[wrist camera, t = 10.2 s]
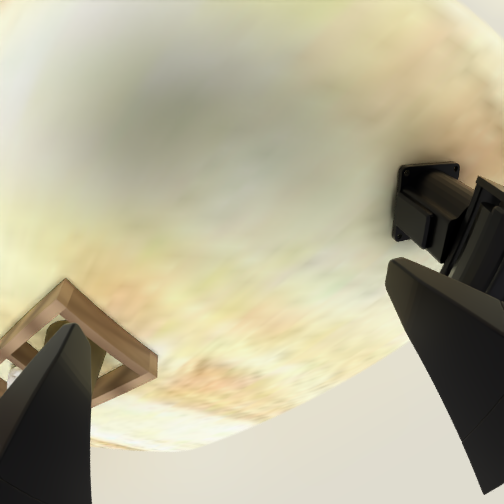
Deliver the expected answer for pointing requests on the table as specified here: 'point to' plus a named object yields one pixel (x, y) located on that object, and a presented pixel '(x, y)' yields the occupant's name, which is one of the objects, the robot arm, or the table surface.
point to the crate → (93, 326)
